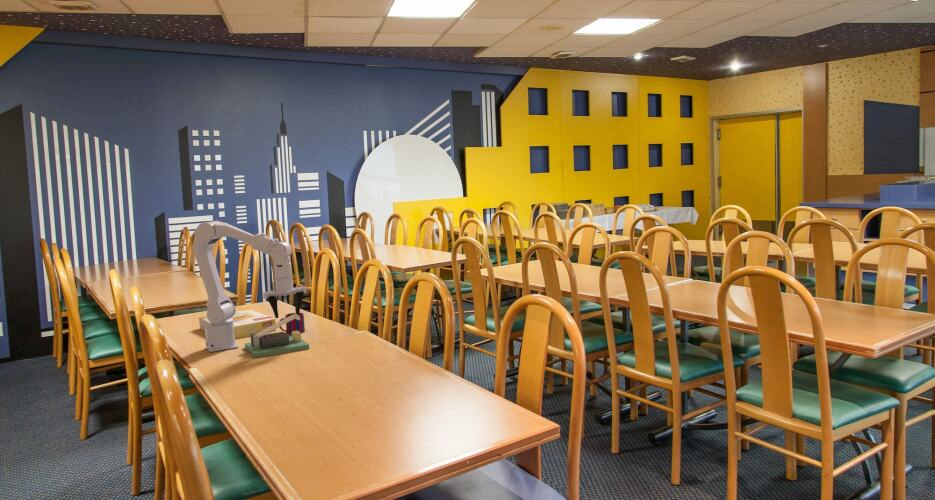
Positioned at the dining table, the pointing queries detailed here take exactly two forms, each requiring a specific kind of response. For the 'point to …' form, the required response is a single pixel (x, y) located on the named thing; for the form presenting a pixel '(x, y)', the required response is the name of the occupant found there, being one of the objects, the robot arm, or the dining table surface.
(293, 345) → the circuit board
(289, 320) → the beige long bar
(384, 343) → the dining table surface
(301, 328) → the mug
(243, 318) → the cereal box
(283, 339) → the dark and beige blocks
